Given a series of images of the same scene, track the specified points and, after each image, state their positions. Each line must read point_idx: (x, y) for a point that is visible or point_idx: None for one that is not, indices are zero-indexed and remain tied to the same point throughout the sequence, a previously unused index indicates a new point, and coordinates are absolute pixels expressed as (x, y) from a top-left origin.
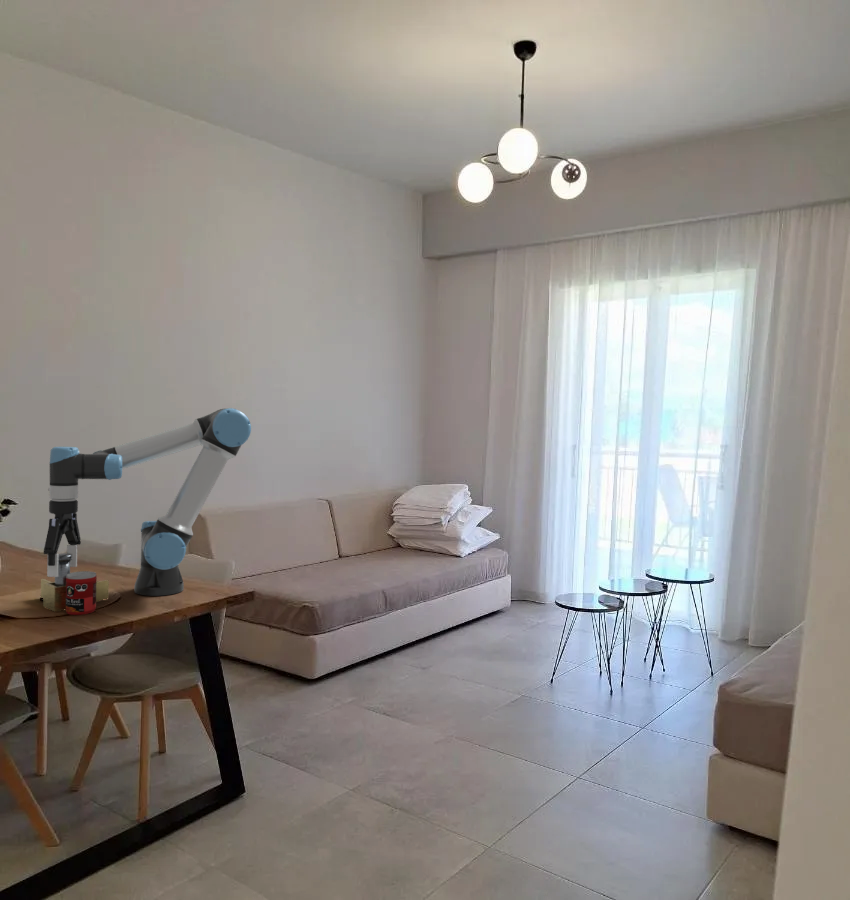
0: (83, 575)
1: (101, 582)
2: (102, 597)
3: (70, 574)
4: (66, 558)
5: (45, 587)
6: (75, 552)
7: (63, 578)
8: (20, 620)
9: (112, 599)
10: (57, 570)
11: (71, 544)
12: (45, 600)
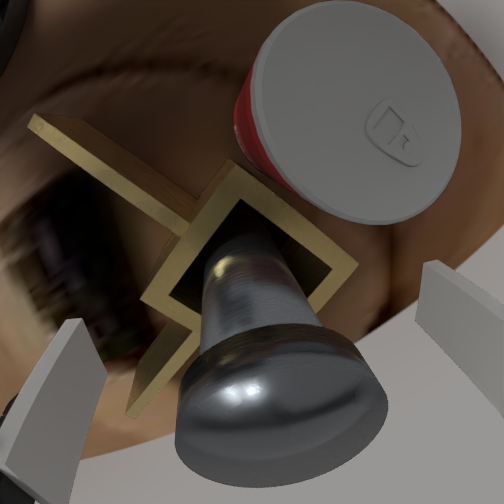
0: (377, 90)
1: (64, 133)
2: (94, 131)
3: (382, 202)
4: (355, 358)
5: None
6: (35, 409)
7: (293, 276)
8: (411, 274)
9: (74, 105)
10: (461, 279)
11: (24, 497)
12: None
